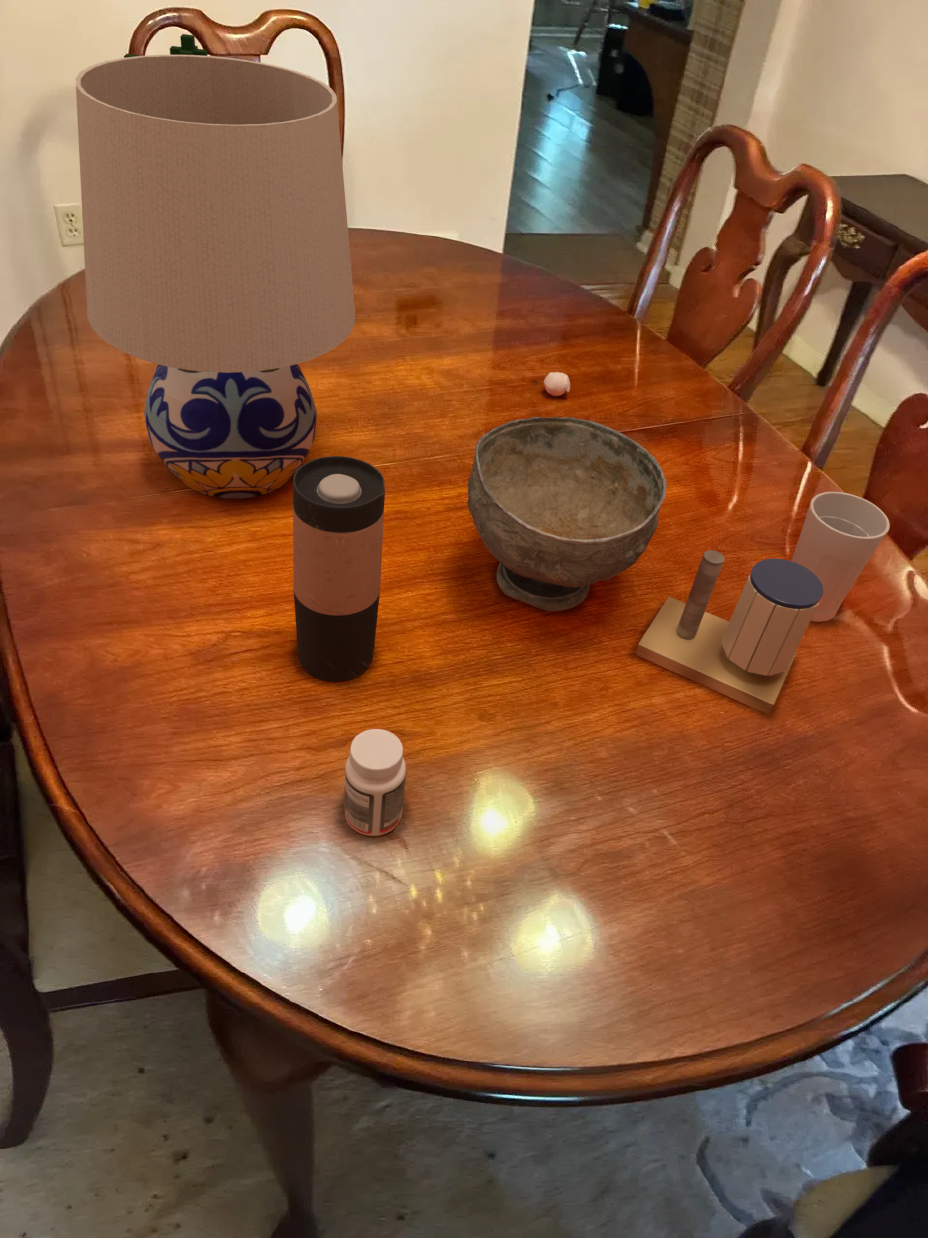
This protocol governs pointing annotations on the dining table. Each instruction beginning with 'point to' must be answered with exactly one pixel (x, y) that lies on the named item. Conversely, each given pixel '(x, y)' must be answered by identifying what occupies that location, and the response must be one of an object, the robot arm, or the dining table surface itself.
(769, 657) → the blue topped tan cylinder
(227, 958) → the dining table surface
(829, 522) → the cup
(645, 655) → the double peg stand
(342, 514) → the travel mug
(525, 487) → the bowl
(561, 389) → the garlic
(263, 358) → the table lamp
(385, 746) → the pill bottle
